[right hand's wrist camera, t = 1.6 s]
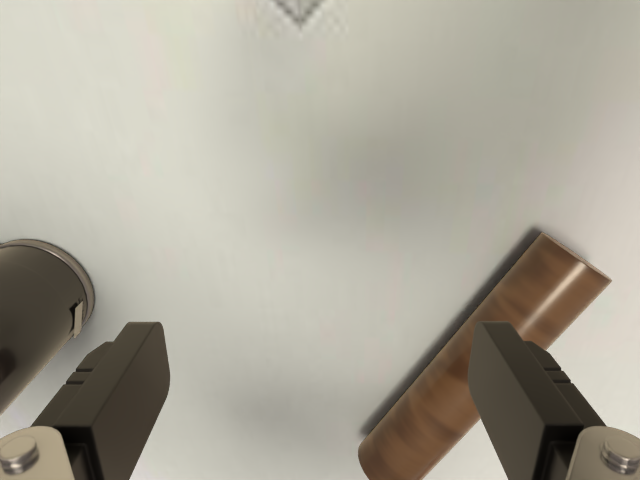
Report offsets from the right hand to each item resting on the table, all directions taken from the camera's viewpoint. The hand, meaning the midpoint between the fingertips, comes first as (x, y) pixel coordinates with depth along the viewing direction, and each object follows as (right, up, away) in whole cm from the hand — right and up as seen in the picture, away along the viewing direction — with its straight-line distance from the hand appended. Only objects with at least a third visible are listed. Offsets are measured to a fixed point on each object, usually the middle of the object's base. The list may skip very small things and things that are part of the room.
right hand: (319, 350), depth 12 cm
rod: (+13, -7, +30) cm, 33 cm away
